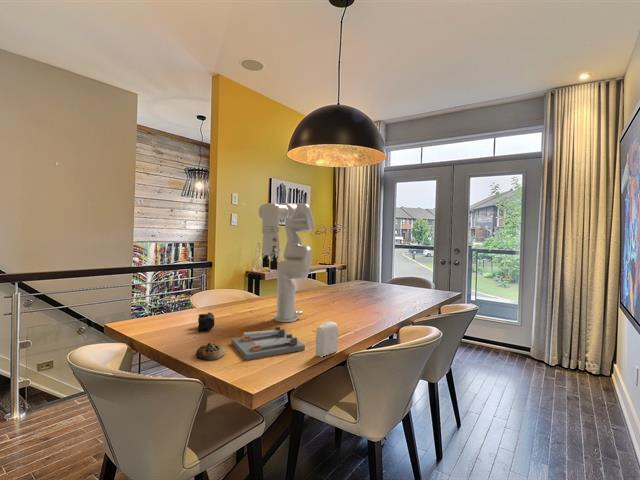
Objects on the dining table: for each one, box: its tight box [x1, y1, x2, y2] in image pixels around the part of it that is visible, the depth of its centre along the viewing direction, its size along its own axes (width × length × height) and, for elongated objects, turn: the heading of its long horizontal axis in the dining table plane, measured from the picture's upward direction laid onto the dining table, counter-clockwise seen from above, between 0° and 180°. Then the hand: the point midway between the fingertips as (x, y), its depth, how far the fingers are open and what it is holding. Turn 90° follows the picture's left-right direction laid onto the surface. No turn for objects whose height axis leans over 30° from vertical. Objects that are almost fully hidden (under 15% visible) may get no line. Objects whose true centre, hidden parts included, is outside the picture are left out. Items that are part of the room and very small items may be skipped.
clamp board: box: [231, 325, 306, 361], centre depth 137 cm, size 24×20×5 cm
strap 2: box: [253, 336, 293, 346], centre depth 132 cm, size 17×3×2 cm, turn 120°
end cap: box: [197, 312, 215, 333], centre depth 159 cm, size 10×7×7 cm
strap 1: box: [242, 328, 281, 337], centre depth 143 cm, size 17×3×2 cm, turn 120°
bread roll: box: [195, 342, 226, 361], centre depth 127 cm, size 11×11×5 cm
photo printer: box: [315, 321, 339, 358], centre depth 132 cm, size 10×4×12 cm, turn 140°
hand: (269, 268), depth 152 cm, fingers open, 9 cm apart
